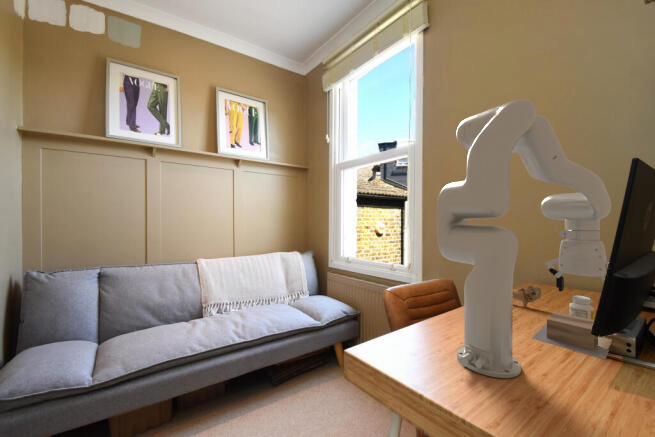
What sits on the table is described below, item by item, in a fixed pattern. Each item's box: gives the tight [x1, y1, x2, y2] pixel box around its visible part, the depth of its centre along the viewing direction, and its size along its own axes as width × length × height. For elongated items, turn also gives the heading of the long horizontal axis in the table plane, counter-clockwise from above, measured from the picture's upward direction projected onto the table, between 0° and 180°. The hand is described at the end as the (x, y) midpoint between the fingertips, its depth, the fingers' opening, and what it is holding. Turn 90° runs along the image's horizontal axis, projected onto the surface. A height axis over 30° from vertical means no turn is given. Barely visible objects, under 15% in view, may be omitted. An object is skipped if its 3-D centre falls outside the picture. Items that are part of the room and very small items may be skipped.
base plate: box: [531, 323, 610, 360], centre depth 73 cm, size 16×14×1 cm
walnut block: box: [546, 311, 598, 350], centre depth 73 cm, size 9×9×5 cm
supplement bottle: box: [568, 295, 595, 320], centre depth 80 cm, size 5×5×10 cm
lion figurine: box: [512, 284, 542, 309], centre depth 101 cm, size 15×5×9 cm, turn 45°
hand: (582, 293), depth 81 cm, fingers open, 9 cm apart
